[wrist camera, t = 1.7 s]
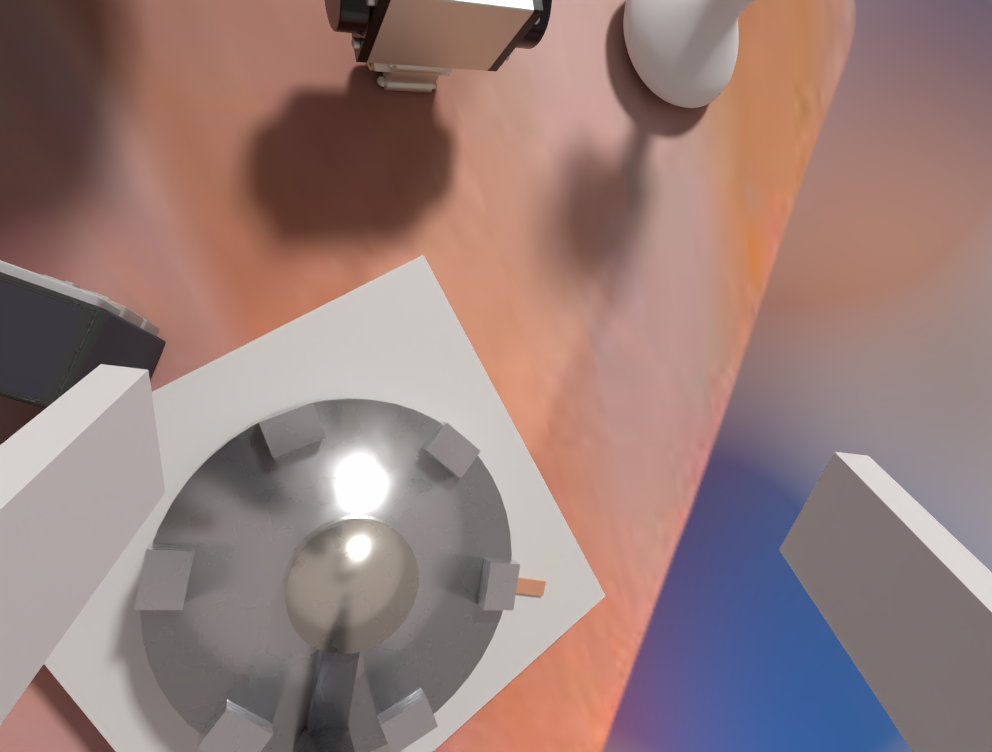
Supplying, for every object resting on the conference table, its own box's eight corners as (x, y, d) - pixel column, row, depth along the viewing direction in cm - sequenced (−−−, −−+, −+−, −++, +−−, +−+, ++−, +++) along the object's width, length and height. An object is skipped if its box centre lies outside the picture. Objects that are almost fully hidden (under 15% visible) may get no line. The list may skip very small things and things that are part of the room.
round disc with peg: (61, 528, 28) (-160, 704, 13) (401, 337, 35) (520, 303, 20) (279, 814, 32) (310, 1207, 17) (543, 590, 39) (732, 721, 24)
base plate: (-60, 501, 27) (-85, 511, 25) (414, 260, 38) (424, 254, 36) (250, 886, 33) (250, 919, 31) (590, 586, 43) (607, 596, 41)
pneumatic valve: (486, 106, 40) (577, 2, 29) (319, 99, 35) (353, -28, 24) (475, 27, 40) (562, -108, 29) (304, 10, 35) (332, -160, 24)
